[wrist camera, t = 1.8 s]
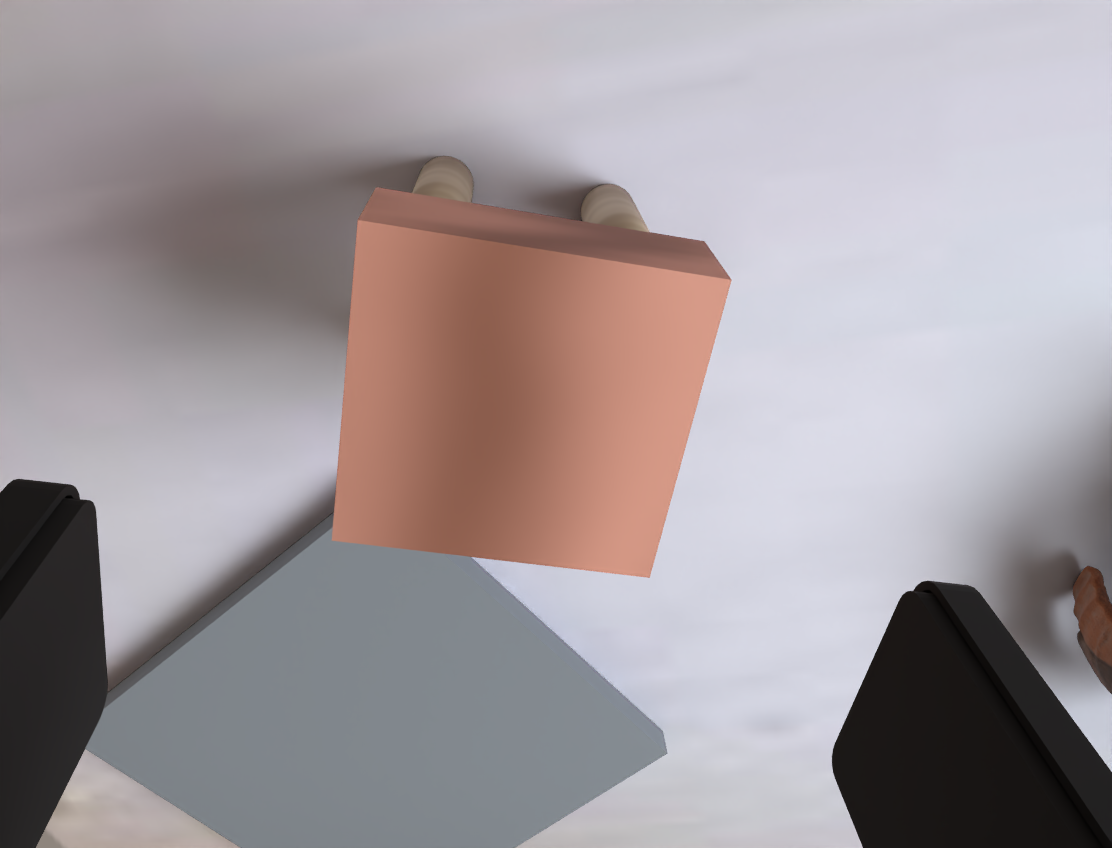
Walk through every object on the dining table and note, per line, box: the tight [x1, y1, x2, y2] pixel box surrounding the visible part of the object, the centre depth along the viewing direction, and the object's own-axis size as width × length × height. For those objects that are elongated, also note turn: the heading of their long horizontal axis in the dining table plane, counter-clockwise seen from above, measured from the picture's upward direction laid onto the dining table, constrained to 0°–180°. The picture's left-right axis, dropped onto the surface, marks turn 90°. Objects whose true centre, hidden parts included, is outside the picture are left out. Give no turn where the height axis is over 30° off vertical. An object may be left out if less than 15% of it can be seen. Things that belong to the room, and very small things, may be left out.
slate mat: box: [85, 512, 667, 848], centre depth 31 cm, size 14×14×1 cm
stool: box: [332, 156, 731, 578], centre depth 20 cm, size 6×6×8 cm
